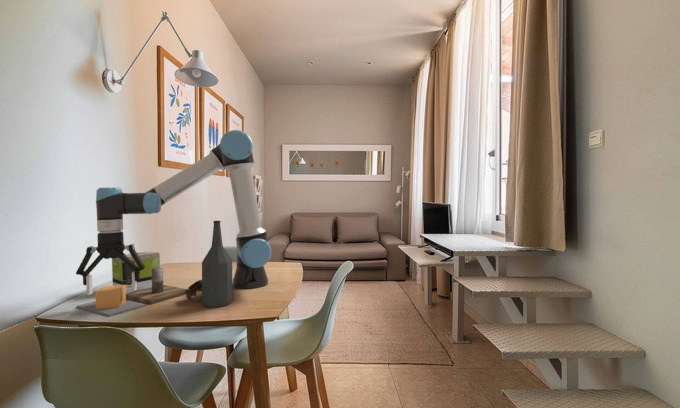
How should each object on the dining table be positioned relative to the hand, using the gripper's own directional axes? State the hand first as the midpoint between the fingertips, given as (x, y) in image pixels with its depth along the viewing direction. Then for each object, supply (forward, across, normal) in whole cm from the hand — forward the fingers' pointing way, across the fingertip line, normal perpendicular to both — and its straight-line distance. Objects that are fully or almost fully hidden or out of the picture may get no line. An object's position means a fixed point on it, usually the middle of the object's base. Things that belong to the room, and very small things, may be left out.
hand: (112, 292), depth 118 cm
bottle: (+6, +35, -8) cm, 36 cm away
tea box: (+5, +2, +25) cm, 25 cm away
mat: (+5, 0, 0) cm, 5 cm away
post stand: (+5, +12, +10) cm, 17 cm away
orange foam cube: (+4, 0, 0) cm, 4 cm away
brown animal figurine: (+6, +29, 0) cm, 30 cm away
